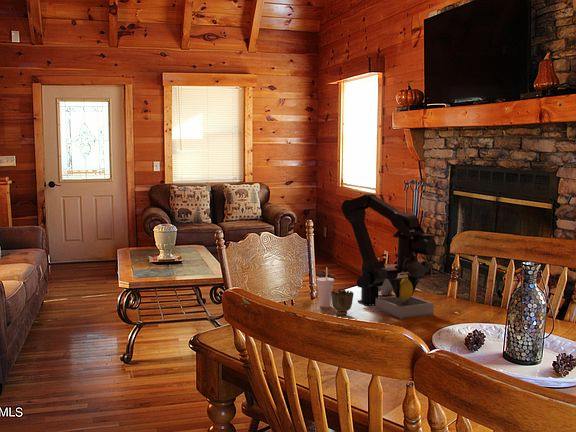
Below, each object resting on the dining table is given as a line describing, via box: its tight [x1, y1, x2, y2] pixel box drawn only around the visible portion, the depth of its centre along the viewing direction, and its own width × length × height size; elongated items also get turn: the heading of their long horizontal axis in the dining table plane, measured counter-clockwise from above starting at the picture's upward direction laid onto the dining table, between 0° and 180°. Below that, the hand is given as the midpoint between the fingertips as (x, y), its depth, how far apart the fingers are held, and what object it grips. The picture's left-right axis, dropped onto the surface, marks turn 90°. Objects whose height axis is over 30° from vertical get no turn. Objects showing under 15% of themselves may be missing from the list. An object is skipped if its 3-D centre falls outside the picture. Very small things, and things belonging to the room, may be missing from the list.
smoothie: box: [316, 267, 335, 308], centre depth 218 cm, size 6×6×14 cm
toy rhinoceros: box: [378, 279, 394, 297], centre depth 235 cm, size 7×12×8 cm, turn 50°
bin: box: [375, 295, 435, 320], centre depth 212 cm, size 14×14×4 cm
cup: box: [331, 289, 355, 317], centre depth 206 cm, size 8×7×8 cm
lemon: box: [399, 277, 414, 301], centre depth 211 cm, size 6×6×8 cm
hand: (404, 296), depth 212 cm, fingers closed on lemon, 5 cm apart
